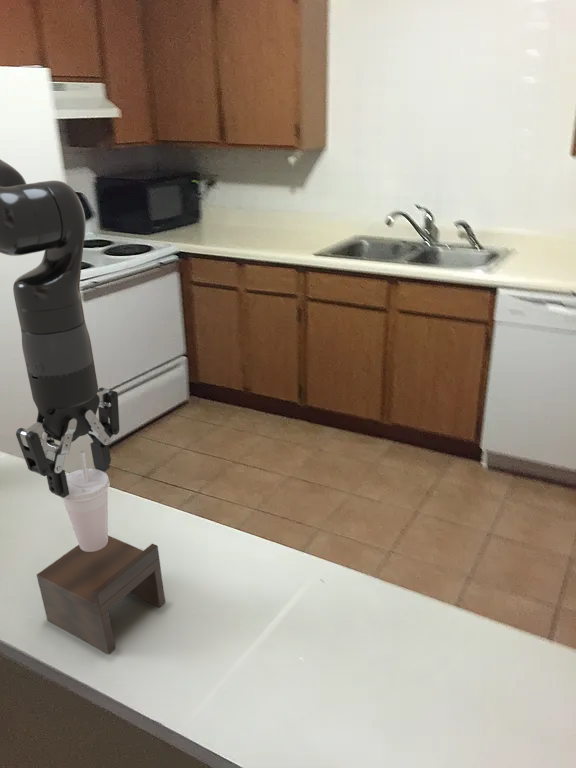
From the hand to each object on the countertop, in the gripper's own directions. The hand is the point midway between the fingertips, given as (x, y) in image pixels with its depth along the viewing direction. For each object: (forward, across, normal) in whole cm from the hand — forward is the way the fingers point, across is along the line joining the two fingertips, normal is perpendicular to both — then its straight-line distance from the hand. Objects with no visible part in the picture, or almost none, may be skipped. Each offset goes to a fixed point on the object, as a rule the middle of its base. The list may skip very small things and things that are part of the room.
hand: (82, 481), depth 85 cm
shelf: (+21, 0, 0) cm, 21 cm away
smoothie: (+10, 0, 0) cm, 10 cm away
